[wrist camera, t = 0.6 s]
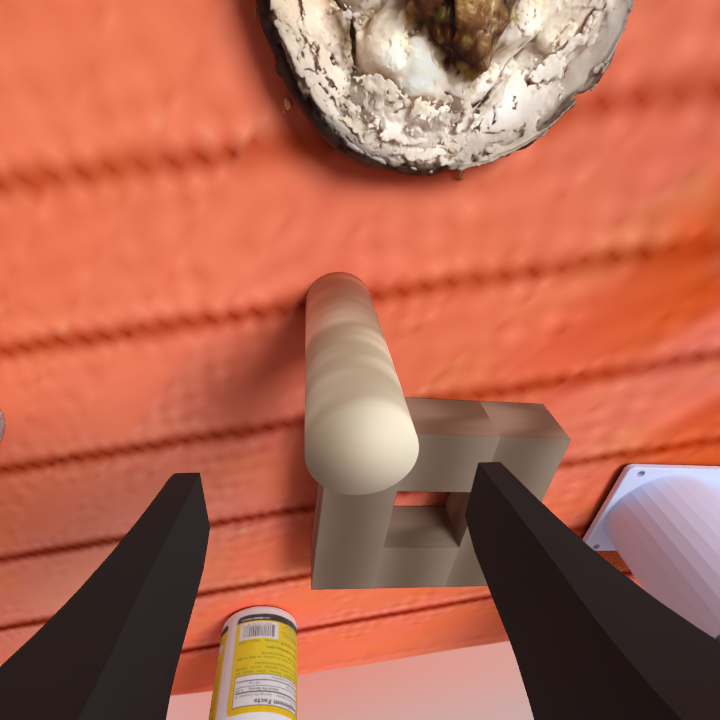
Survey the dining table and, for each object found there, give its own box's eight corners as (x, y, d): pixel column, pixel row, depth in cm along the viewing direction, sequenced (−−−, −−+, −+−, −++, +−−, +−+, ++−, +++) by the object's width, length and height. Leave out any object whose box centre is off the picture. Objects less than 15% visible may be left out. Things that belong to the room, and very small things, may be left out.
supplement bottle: (257, 651, 34) (240, 831, 26) (207, 623, 31) (171, 813, 23) (312, 624, 33) (314, 802, 25) (266, 593, 30) (250, 780, 22)
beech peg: (375, 275, 19) (429, 410, 11) (366, 335, 21) (407, 495, 12) (308, 268, 19) (308, 404, 10) (303, 330, 20) (300, 494, 12)
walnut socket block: (542, 404, 24) (571, 439, 22) (484, 544, 30) (501, 585, 27) (328, 393, 22) (331, 431, 20) (310, 545, 28) (311, 589, 26)
